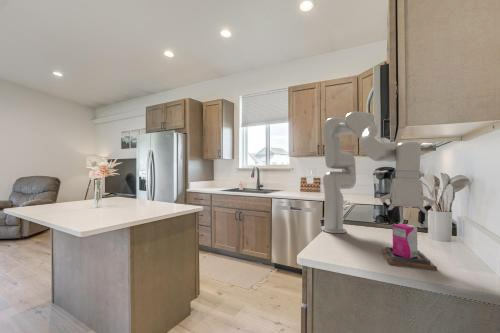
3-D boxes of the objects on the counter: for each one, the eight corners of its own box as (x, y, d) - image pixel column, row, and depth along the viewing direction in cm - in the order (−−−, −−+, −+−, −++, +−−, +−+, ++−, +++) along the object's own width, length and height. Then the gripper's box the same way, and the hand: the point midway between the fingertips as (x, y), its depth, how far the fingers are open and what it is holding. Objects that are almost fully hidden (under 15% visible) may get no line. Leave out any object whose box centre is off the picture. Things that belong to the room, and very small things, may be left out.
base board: (381, 251, 97) (381, 245, 97) (421, 256, 93) (421, 249, 93) (389, 264, 84) (389, 257, 84) (437, 270, 79) (437, 263, 79)
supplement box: (402, 252, 92) (403, 223, 92) (418, 258, 87) (418, 226, 87) (391, 254, 90) (392, 224, 90) (406, 260, 85) (407, 228, 85)
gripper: (430, 176, 89) (429, 221, 90) (379, 174, 95) (377, 217, 95) (439, 177, 82) (437, 226, 82) (382, 175, 88) (381, 221, 88)
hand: (405, 221), depth 89 cm, fingers open, 9 cm apart
